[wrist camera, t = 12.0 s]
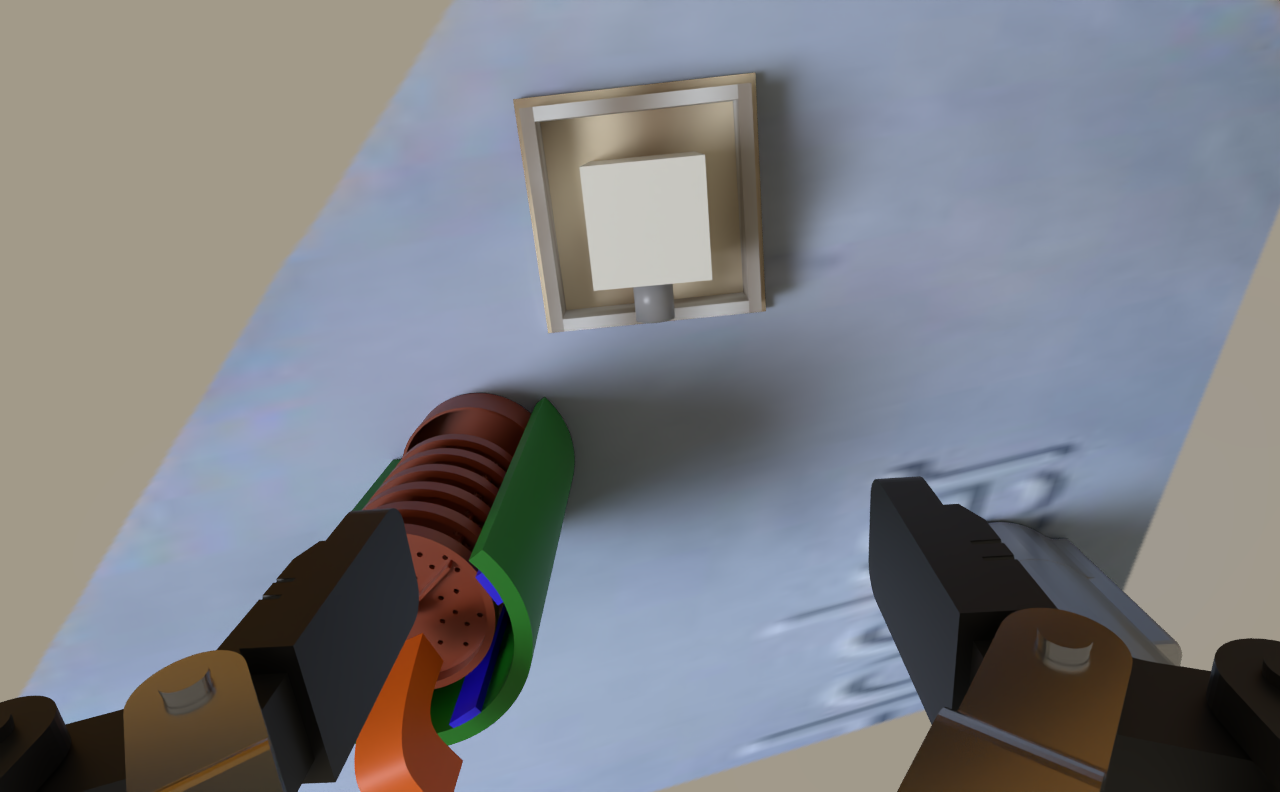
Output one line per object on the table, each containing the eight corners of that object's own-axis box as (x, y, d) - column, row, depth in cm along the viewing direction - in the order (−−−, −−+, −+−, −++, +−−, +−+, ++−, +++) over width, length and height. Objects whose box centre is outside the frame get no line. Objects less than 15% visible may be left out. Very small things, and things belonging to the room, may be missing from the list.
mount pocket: (753, 73, 34) (762, 68, 31) (763, 308, 37) (772, 320, 35) (515, 100, 34) (505, 97, 32) (549, 330, 38) (543, 343, 35)
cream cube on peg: (694, 151, 34) (704, 154, 29) (703, 296, 37) (714, 326, 31) (589, 161, 34) (579, 167, 29) (604, 305, 37) (598, 336, 31)
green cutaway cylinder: (506, 351, 38) (377, 561, 19) (611, 471, 41) (588, 763, 22) (369, 458, 40) (134, 741, 22) (477, 567, 43) (350, 907, 24)
